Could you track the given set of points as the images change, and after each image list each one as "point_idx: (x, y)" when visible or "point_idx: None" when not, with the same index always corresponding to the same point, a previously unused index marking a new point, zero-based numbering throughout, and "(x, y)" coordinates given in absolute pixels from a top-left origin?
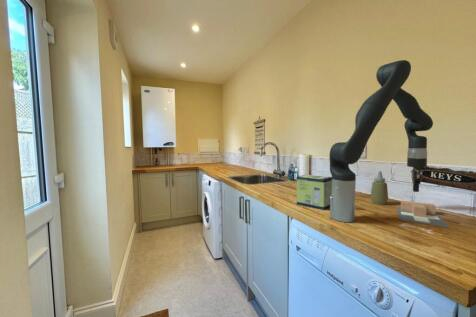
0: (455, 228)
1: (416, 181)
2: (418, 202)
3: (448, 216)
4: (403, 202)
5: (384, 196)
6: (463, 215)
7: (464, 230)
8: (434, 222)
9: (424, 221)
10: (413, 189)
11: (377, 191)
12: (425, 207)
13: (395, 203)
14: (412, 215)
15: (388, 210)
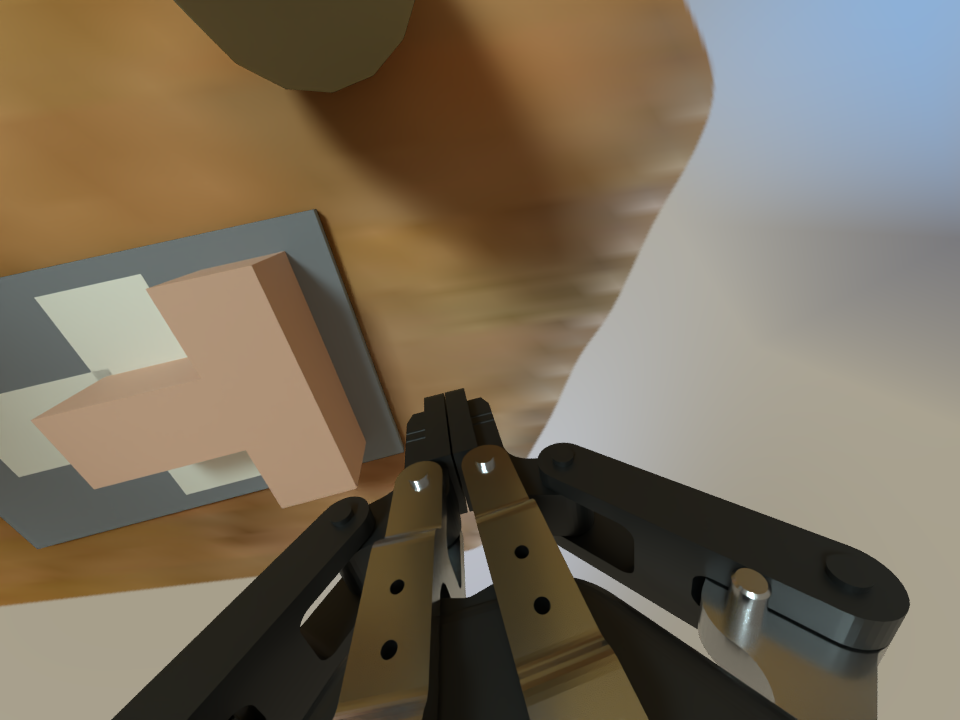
0: (97, 552)
1: (344, 569)
2: (312, 407)
3: (368, 496)
4: (159, 306)
5: (200, 26)
6: (463, 531)
7: (106, 576)
8: (64, 488)
9: (6, 450)
10: (425, 411)
11: None
12: (130, 478)
13: (516, 167)
14: (103, 367)
15: (111, 159)
